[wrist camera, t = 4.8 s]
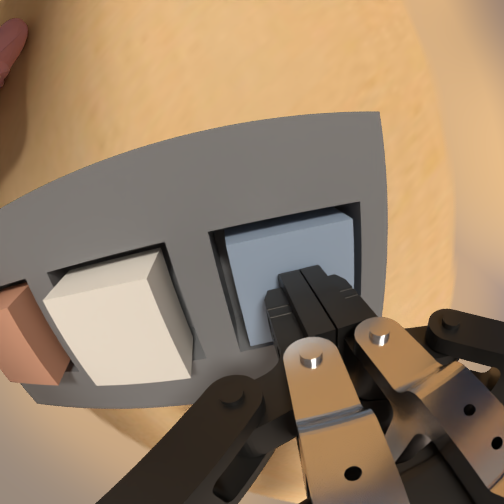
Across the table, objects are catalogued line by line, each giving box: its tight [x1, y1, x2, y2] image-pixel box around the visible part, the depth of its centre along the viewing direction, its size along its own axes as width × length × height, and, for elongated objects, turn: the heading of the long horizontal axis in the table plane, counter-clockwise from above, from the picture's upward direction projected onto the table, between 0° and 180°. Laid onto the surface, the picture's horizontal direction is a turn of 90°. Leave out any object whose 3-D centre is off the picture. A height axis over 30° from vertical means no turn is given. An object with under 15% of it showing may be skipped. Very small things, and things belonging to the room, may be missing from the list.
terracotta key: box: [0, 282, 71, 385], centre depth 9 cm, size 4×4×2 cm
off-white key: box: [43, 248, 193, 386], centre depth 10 cm, size 4×4×2 cm
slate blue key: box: [224, 206, 354, 346], centre depth 11 cm, size 4×4×2 cm
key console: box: [0, 112, 388, 409], centre depth 12 cm, size 12×22×4 cm, turn 100°
